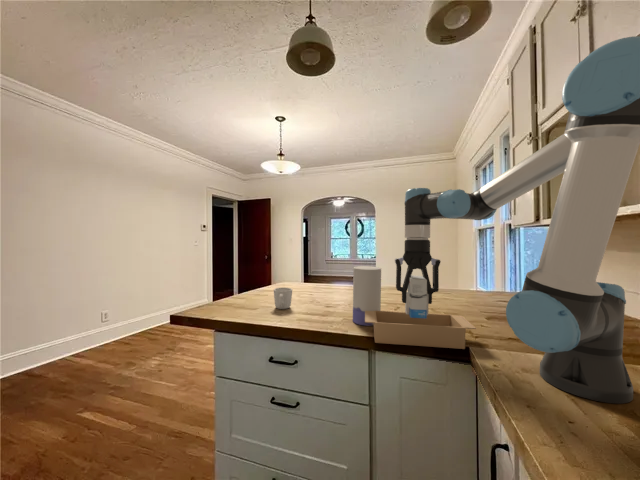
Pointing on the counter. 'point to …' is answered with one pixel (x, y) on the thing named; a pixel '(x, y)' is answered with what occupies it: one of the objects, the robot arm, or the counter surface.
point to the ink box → (417, 297)
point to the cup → (282, 297)
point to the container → (366, 292)
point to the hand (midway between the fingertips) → (416, 313)
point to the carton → (419, 329)
